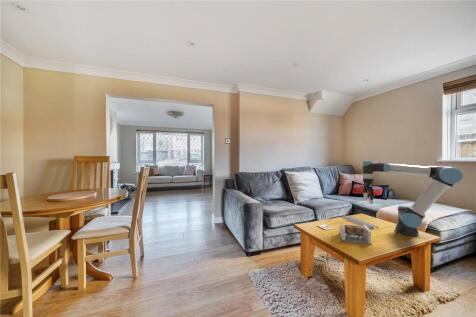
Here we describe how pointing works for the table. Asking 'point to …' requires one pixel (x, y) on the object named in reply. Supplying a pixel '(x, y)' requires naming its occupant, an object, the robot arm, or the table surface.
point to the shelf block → (354, 230)
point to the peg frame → (356, 239)
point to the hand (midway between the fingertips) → (368, 201)
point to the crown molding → (359, 222)
